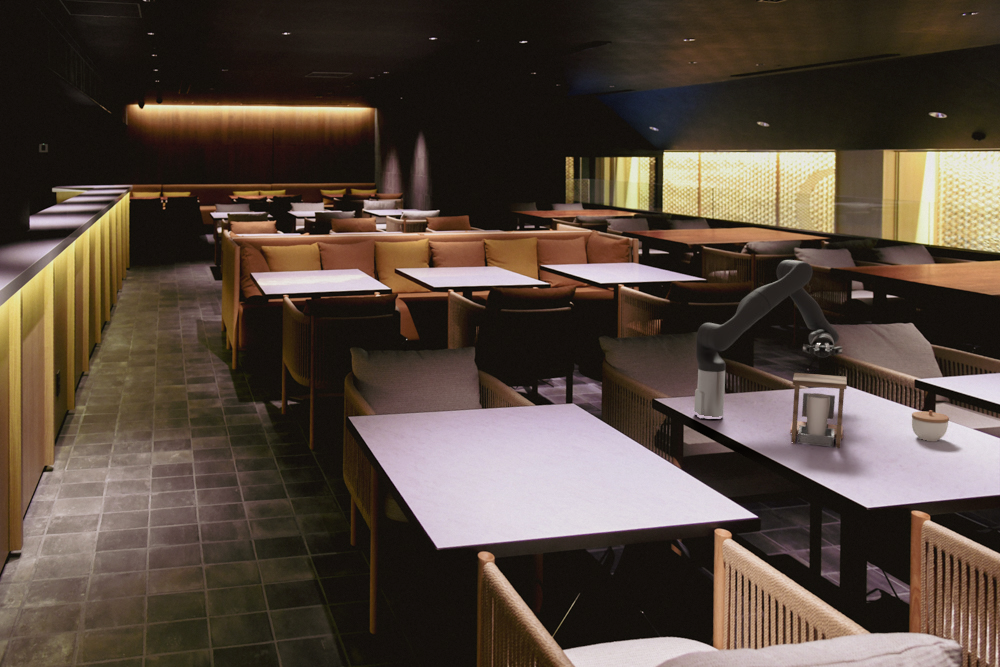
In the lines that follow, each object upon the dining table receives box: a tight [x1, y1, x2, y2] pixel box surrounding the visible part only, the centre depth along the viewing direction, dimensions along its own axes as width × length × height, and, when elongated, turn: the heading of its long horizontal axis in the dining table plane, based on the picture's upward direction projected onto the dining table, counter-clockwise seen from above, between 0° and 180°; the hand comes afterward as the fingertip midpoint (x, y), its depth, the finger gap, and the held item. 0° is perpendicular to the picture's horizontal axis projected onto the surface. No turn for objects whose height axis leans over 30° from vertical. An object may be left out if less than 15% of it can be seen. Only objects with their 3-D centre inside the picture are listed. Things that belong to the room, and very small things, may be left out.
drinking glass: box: [806, 392, 830, 436], centre depth 273 cm, size 7×7×15 cm
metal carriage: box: [797, 392, 836, 448], centre depth 280 cm, size 26×11×11 cm, turn 159°
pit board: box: [789, 420, 844, 440], centre depth 285 cm, size 12×16×2 cm
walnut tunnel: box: [790, 372, 848, 449], centre depth 272 cm, size 12×16×21 cm
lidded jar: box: [911, 409, 950, 442], centre depth 277 cm, size 11×11×9 cm
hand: (822, 353), depth 294 cm, fingers closed
